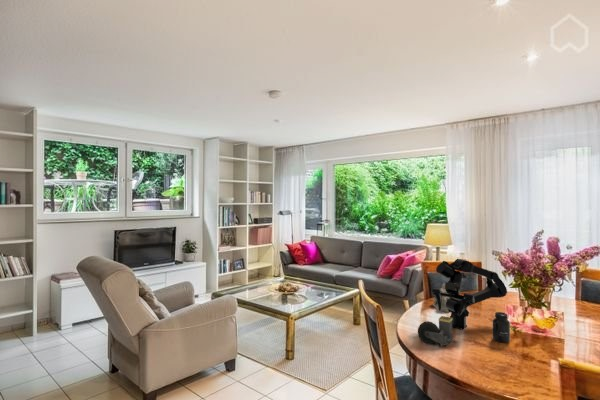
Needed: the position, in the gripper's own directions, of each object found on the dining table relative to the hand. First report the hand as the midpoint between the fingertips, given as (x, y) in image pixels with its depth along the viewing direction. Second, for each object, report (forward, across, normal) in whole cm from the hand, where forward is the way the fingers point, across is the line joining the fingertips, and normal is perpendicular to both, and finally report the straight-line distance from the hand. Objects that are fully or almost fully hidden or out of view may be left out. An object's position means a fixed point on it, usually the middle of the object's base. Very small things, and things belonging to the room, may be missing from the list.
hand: (449, 312), depth 166 cm
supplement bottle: (+5, +21, +10) cm, 24 cm away
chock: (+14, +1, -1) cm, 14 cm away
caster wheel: (+18, -2, -6) cm, 19 cm away
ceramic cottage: (-17, -12, +39) cm, 44 cm away
